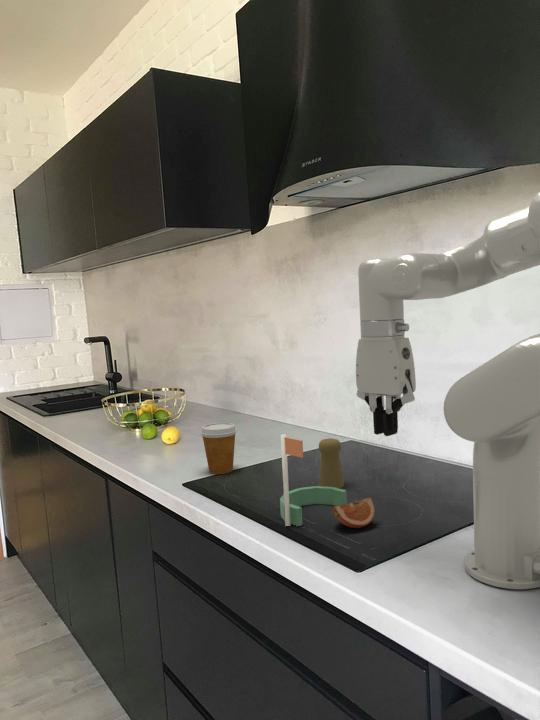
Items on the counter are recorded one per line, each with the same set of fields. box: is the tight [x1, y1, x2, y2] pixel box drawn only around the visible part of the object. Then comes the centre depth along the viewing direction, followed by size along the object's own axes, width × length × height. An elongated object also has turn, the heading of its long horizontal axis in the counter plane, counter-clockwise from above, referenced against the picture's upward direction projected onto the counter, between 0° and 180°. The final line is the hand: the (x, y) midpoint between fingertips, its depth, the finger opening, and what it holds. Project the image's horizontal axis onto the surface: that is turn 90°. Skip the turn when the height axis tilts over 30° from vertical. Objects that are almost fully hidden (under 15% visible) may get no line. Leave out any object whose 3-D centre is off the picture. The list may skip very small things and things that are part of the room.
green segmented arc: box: [279, 433, 348, 527], centre depth 119 cm, size 12×16×18 cm
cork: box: [318, 437, 345, 489], centre depth 137 cm, size 6×6×11 cm
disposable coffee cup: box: [200, 422, 238, 475], centre depth 154 cm, size 10×10×12 cm
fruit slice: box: [331, 497, 376, 529], centre depth 112 cm, size 8×7×5 cm
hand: (385, 433), depth 104 cm, fingers closed
